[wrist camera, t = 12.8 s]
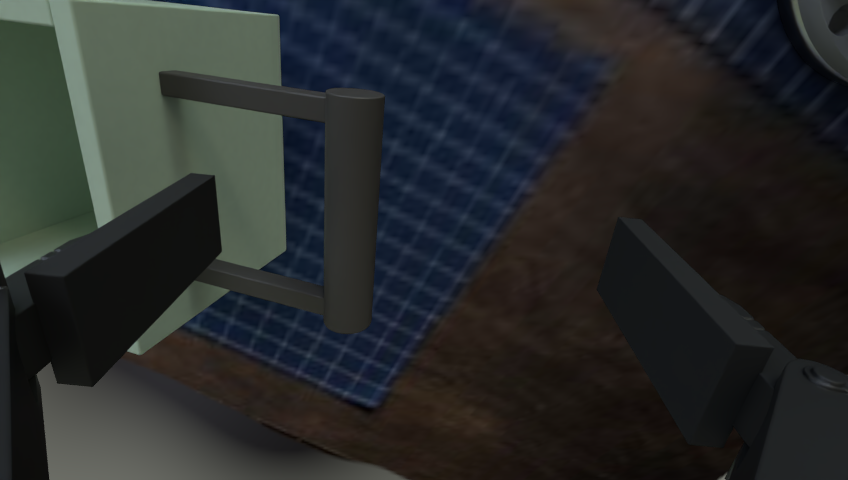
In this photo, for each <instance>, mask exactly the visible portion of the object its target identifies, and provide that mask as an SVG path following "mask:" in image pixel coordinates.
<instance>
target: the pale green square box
mask: <svg viewBox="0 0 848 480" xmlns="http://www.w3.org/2000/svg"><path fill="white" fill-rule="evenodd" d="M384 103H385V96H384V95H383V94H382V93H379V92H376V91H371V90H364V89H355V88H332V89H328V90H326V92H325V93H323V92H317V91H310V90H304V89H297V88H290V87H284V86H281V56H280V23H279V15H275V14H266V13H257V12H248V11H239V10H230V9H222V8H213V7H204V6H195V5H186V4H177V3H168V2H159V1H151V0H0V264H1V267H2V270H3V273H4V276H5V278H6V277H8V276H9V275H11V274H13V273H15V272H16V271H18V270H20V269H21V268H23V267H25V266H27V265H28V264H30V263H32V262H33V261H35V260H37V259H39V260H40V259H41V257H42V256H44V255H45V254H47V253H49V252H51V251H52V252H54V249H56V248H57V247H59V246H61V245H63V244H64V243H66V242H68V241H69V240H72V239H75V238H78V237H81V236H84V235H87V234H89V233H91V232H93V231H95V230H96V229H98V228H100V227H101V226H103V225H105V224H106V223H108V222H110V221H111V220H113V219H115V218H116V217H118V216H120V215H121V214H123V213H125V212H126V211H128V210H130V209H131V208H133V207H135V206H136V205H138V204H140V203H141V202H143V201H145V200H146V199H148V198H150V197H151V196H153V195H155V194H157V193H158V192H160V191H162V190H163V189H165V188H167V187H168V186H170V185H172V184H173V183H175V182H177V181H178V180H180V179H182V178H183V177H185V176H187V175H188V174H190V173H197V174H207V175H215V182H216V192H217V203H218V213H219V224H220V234H221V245H222V252H221V253H220V254H219V256H218V257H217V258H216V259H215V260H214V261H213V262H212V263H211V264H210V265H209V266H208V267H207V268H206V269H205V270H204V271H203V272H202V273H201V274H200V275H199V276H198V277H197V279H196V280H195V281H194V282H193V283H192V284H191V285H190V286H189V287H188V288H187V289H186V290H185V291H184V292H183V293H182V294H181V295H180V296H179V297H178V298H177V299H176V300H175V301H174V303H173V304H172V305H171V306H170V307H169V308H168V309H167V310H166V311H165V312H164V313H163V314H162V315H161V316H160V317H159V318H158V319H157V320H156V321H155V322H154V323H153V324H152V325H151V327H150V328H149V329H148V330H147V331H146V332H145V333H144V334H143V335H142V336H141V337H140V338H139V339H138V340H137V341H136V342H135V343H134V344H133V345H132V346H131V347H130V348H129V350H128V352H131V353H134V354H137V355H142V354H143V353H145V352H146V351H147V350H149V349H150V348H152V347H153V346H154V345H156V344H157V343H158V342H160V341H161V340H163V339H164V338H165V337H167V336H168V335H170V334H171V333H172V332H174V331H175V330H176V329H178V328H179V327H181V326H182V325H183V324H185V323H186V322H187V321H189V320H190V319H192V318H193V317H194V316H196V315H197V314H198V313H200V312H201V311H203V310H204V309H205V308H207V307H208V306H210V305H211V304H212V303H214V302H215V301H216V300H218V299H219V298H221V297H222V296H223V295H225V294H226V293H227V292H229V291H230V290H231V291H235V292H239V293H243V294H246V295H250V296H254V297H257V298H261V299H265V300H269V301H272V302H276V303H280V304H283V305H287V306H291V307H295V308H298V309H302V310H306V311H309V312H313V313H317V314H320V315H324V323H325V325H326V327H327V328H329V329H330V330H332V331H334V332H337V333H341V334H354V333H358V332H361V331H363V330H365V329H366V328H367V327H368V326H369V325H370V323H371V319H372V302H373V285H374V269H375V252H376V236H377V219H378V203H379V186H380V170H381V153H382V137H383V120H384ZM282 116H287V117H293V118H299V119H305V120H311V121H317V122H323V123H325V207H324V286H320V285H316V284H313V283H309V282H305V281H301V280H297V279H293V278H289V277H285V276H281V275H277V274H273V273H269V272H265V271H261V270H259V269H261V268H262V267H263V266H265V265H266V264H268V263H269V262H270V261H272V260H273V259H274V258H276V257H277V256H279V255H280V254H282V253H283V252H284V251H286V223H285V190H284V157H283V123H282Z"/></svg>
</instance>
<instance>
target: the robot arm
mask: <svg viewBox="0 0 848 480" xmlns="http://www.w3.org/2000/svg"><path fill="white" fill-rule="evenodd" d="M777 3H778V9H779V13H780V16H781V20H782V23H783V26H784V28H785V31H786V34H787V36H788V37H789V39H790V41H791V43H792V45H793V47H794V48H795V49H796V51H797V52H798V53H799V55H800V56H801V57H802V58H803V59H804V60H805V61H806V62H807V64H808V65H809V66H811V67H812V68H813V69H814V70H816V71H817V72H818V73H820V74H821V75H823V76H825V77H826V78H828V79H830V80H832V81H834V82H837V83H839V84H841V85H845V86H848V0H777ZM221 252H222V245H221V234H220V224H219V213H218V203H217V192H216V182H215V175H207V174H197V173H190V174H188V175H187V176H185V177H183V178H182V179H180V180H178V181H177V182H175V183H173V184H172V185H170V186H168V187H167V188H165V189H163V190H162V191H160V192H158V193H157V194H155V195H153V196H151V197H150V198H148V199H146V200H145V201H143V202H141V203H140V204H138V205H136V206H135V207H133V208H131V209H130V210H128V211H126V212H125V213H123V214H121V215H120V216H118V217H116V218H115V219H113V220H111V221H110V222H108V223H106V224H105V225H103V226H101V227H100V228H98V229H96V230H95V231H93V232H91V233H89V234H87V235H84V236H81V237H78V238H75V239H72V240H69V241H68V242H66V243H64V244H63V245H61V246H59V247H57V248H56V249H54V252H52V251H51V252H49V253H47V254H45V255H44V256H42V257H41V259H40V260H39V259H37V260H35V261H33V262H32V263H30V264H28V265H27V266H25V267H23V268H21V269H20V270H18V271H16V272H15V273H13V274H11V275H9V276H8V277H6V278H5V276H4V273H3V270H2V267H1V264H0V480H49V472H48V462H47V451H46V440H45V430H44V420H43V409H42V398H41V387H40V384H39V381H38V378H37V375H36V374H37V373H38V372H39V371H40V370H41V369H43V368H44V367H45V366H46V365H47V364H48V363H50V362H51V364H52V367H53V371H54V374H55V377H56V380H57V383H59V384H69V385H79V386H90V387H93V386H94V385H95V384H96V383H97V382H98V381H99V380H100V379H101V378H102V377H103V376H104V375H105V373H106V372H107V371H108V370H109V369H110V368H111V367H112V366H113V365H114V364H115V363H116V362H117V361H118V360H119V359H120V358H121V357H122V356H123V355H124V354H125V353H126V352H127V351H128V350H129V348H130V347H131V346H132V345H133V344H134V343H135V342H136V341H137V340H138V339H139V338H140V337H141V336H142V335H143V334H144V333H145V332H146V331H147V330H148V329H149V328H150V327H151V325H152V324H153V323H154V322H155V321H156V320H157V319H158V318H159V317H160V316H161V315H162V314H163V313H164V312H165V311H166V310H167V309H168V308H169V307H170V306H171V305H172V304H173V303H174V301H175V300H176V299H177V298H178V297H179V296H180V295H181V294H182V293H183V292H184V291H185V290H186V289H187V288H188V287H189V286H190V285H191V284H192V283H193V282H194V281H195V280H196V279H197V277H198V276H199V275H200V274H201V273H202V272H203V271H204V270H205V269H206V268H207V267H208V266H209V265H210V264H211V263H212V262H213V261H214V260H215V259H216V258H217V257H218V256H219V254H220V253H221ZM597 291H598V292H599V294H600V296H601V297H602V299H603V301H604V303H605V304H606V306H607V308H608V309H609V311H610V313H611V314H612V316H613V318H614V319H615V321H616V323H617V324H618V326H619V328H620V330H621V331H622V333H623V335H624V336H625V338H626V340H627V341H628V343H629V345H630V346H631V348H632V350H633V351H634V353H635V355H636V357H637V358H638V360H639V362H640V363H641V365H642V367H643V368H644V370H645V372H646V373H647V375H648V377H649V378H650V380H651V382H652V384H653V385H654V387H655V389H656V390H657V392H658V394H659V395H660V397H661V399H662V400H663V402H664V404H665V405H666V407H667V409H668V411H669V412H670V414H671V416H672V417H673V419H674V421H675V422H676V424H677V426H678V427H679V429H680V431H681V432H682V434H683V436H684V438H685V439H686V441H687V443H688V444H689V445H698V446H708V447H719V448H723V447H724V445H725V443H726V441H727V439H728V437H729V435H730V433H731V431H732V429H733V427H734V428H735V429H736V430H737V432H738V433H739V435H740V436H741V437H742V439H743V440H744V441H745V442H744V444H743V445H742V447H741V449H740V451H739V453H738V455H737V457H736V458H735V460H734V462H733V464H732V466H731V468H730V470H729V471H728V473H727V475H726V477H725V479H726V480H848V376H846V375H845V374H843V373H841V372H839V371H837V370H835V369H833V368H831V367H829V366H826V365H823V364H820V363H817V362H814V361H810V360H804V359H797V358H796V357H795V356H794V355H793V354H791V353H790V352H789V351H788V350H787V349H786V348H785V347H784V346H783V345H782V344H781V343H780V342H779V341H778V340H776V339H775V338H774V337H773V336H772V335H771V334H770V333H769V332H768V331H765V328H764V327H763V326H762V325H760V324H759V323H758V322H757V321H754V318H753V317H752V316H751V315H750V314H749V313H748V312H747V311H745V310H744V309H743V308H742V307H741V306H740V305H738V304H736V303H735V302H733V301H731V300H730V299H728V298H726V297H725V296H723V295H719V294H718V293H717V292H716V291H715V290H714V289H713V288H712V287H711V286H710V285H709V284H708V283H707V282H706V281H705V280H704V279H703V278H702V277H701V276H700V275H699V274H698V273H697V272H696V271H695V270H693V269H692V268H691V267H690V266H689V265H688V264H687V263H686V262H685V261H684V260H683V259H682V258H681V257H680V256H679V255H678V254H677V253H676V252H675V251H674V250H673V249H672V248H671V247H670V246H669V245H668V244H667V243H666V242H664V241H663V240H662V239H661V238H660V237H659V236H658V235H657V234H656V233H655V232H654V231H653V230H652V229H651V228H650V227H649V226H648V225H647V224H646V223H645V222H644V221H643V220H642V219H633V218H623V217H618V220H617V223H616V227H615V230H614V233H613V237H612V240H611V244H610V247H609V250H608V254H607V257H606V260H605V264H604V267H603V271H602V274H601V277H600V281H599V284H598V287H597Z"/></svg>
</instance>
